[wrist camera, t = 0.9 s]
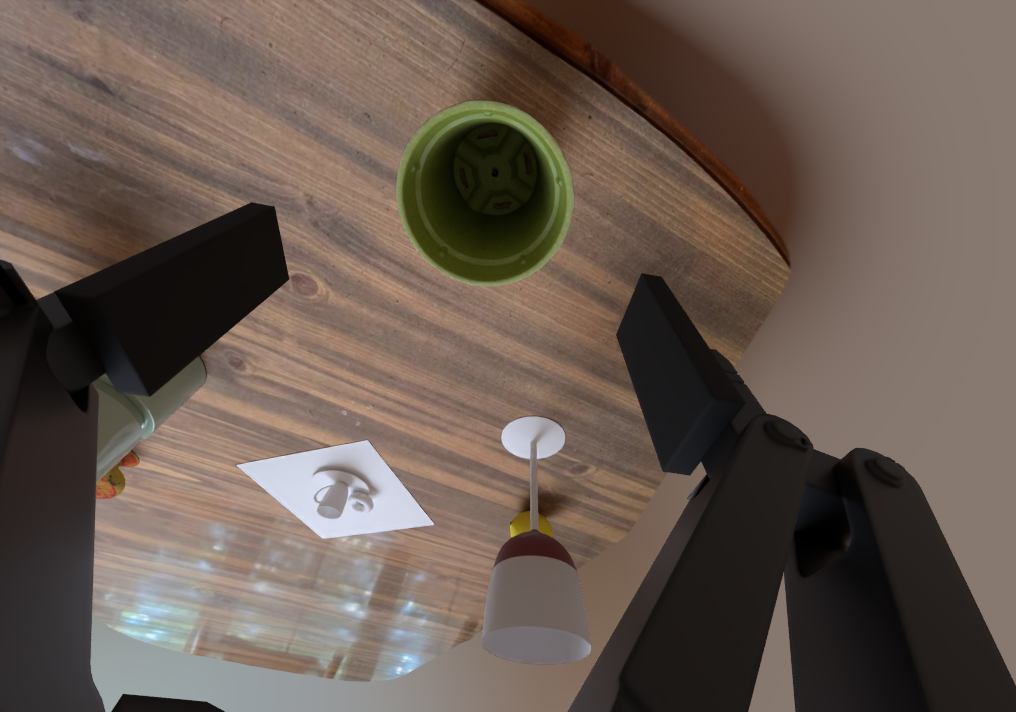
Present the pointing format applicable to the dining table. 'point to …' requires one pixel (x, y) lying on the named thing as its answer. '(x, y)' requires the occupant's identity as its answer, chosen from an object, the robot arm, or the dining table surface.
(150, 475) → the dining table surface
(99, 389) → the cup stack
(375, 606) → the dining table surface
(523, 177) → the plant pot
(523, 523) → the lemon
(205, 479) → the dining table surface
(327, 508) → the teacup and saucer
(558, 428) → the wineglass
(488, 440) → the dining table surface
